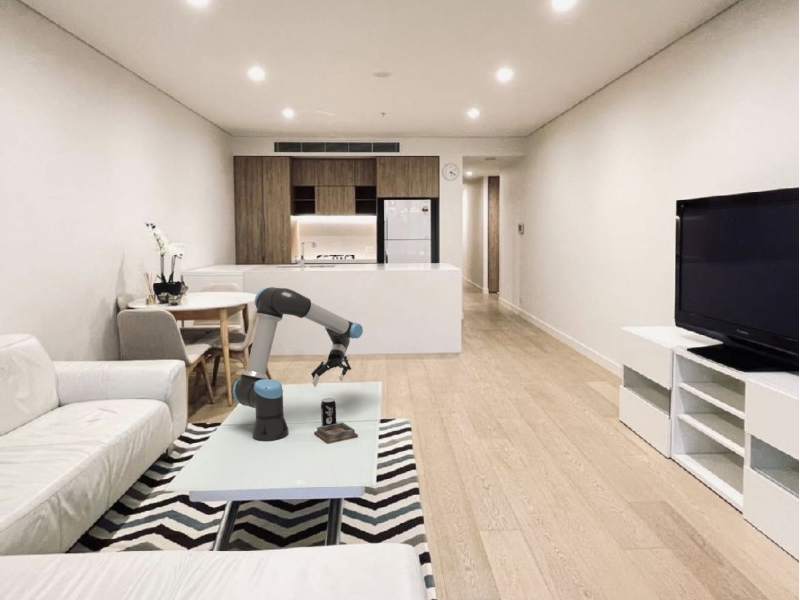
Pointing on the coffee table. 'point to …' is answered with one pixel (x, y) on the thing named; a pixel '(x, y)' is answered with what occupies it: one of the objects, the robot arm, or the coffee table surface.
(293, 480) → the coffee table surface
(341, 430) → the tray
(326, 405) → the beverage can
